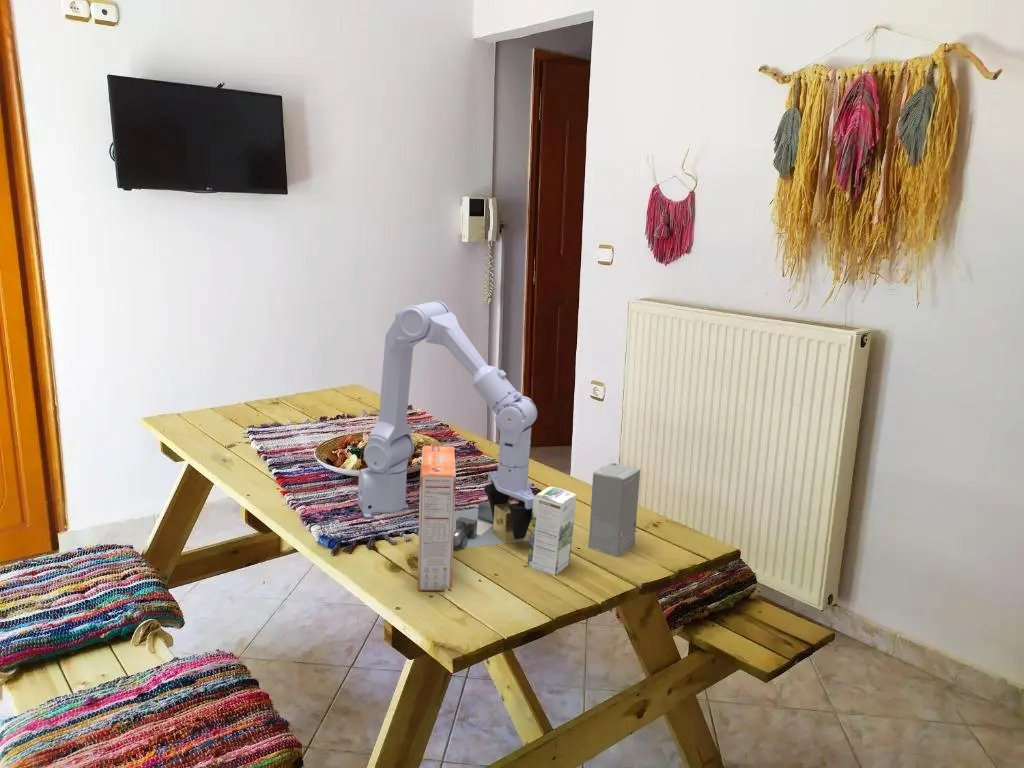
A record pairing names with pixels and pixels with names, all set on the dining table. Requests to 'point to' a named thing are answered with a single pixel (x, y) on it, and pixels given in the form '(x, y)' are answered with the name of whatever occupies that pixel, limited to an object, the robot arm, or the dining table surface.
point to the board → (480, 530)
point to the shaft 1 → (464, 532)
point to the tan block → (503, 523)
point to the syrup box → (551, 530)
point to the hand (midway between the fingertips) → (508, 529)
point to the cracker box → (436, 518)
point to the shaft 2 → (485, 512)
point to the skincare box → (614, 509)
